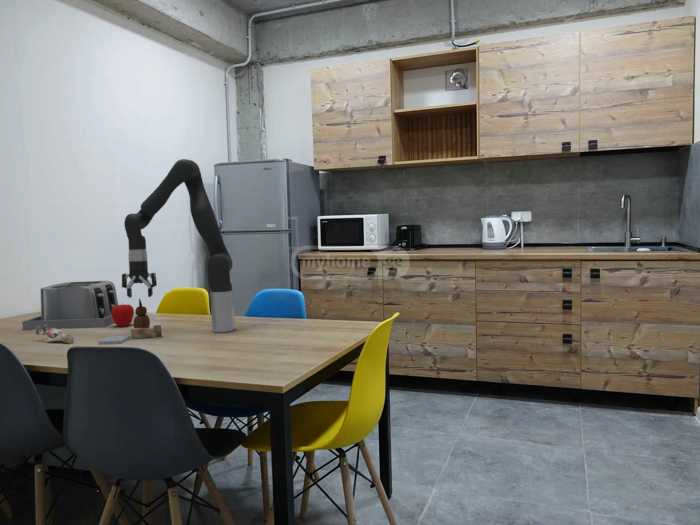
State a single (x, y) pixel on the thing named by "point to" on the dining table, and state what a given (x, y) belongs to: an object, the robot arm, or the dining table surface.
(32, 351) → the dining table surface
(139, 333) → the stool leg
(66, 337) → the figurine
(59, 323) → the toaster tray
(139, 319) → the wooden figurine
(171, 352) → the dining table surface
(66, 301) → the toaster
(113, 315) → the apple
